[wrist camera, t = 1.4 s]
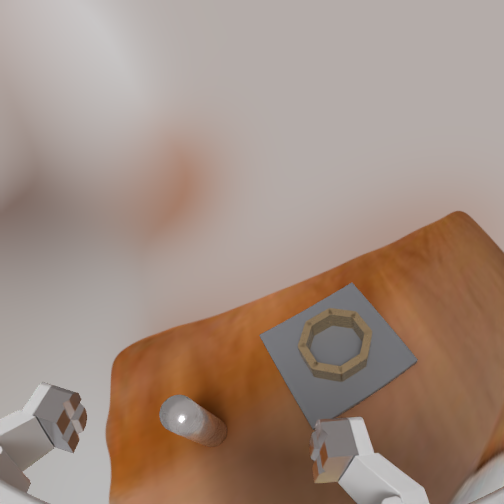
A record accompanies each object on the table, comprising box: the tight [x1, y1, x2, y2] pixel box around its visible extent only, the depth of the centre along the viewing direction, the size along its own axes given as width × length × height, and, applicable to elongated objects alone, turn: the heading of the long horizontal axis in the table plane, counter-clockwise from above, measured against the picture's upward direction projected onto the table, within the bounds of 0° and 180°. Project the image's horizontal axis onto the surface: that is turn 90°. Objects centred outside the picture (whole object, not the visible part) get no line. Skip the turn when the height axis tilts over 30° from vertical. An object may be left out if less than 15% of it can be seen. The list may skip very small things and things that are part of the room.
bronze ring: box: [298, 308, 372, 382], centre depth 39 cm, size 9×9×3 cm
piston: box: [160, 395, 227, 447], centre depth 33 cm, size 4×4×10 cm
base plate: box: [259, 283, 417, 430], centre depth 40 cm, size 16×16×1 cm
